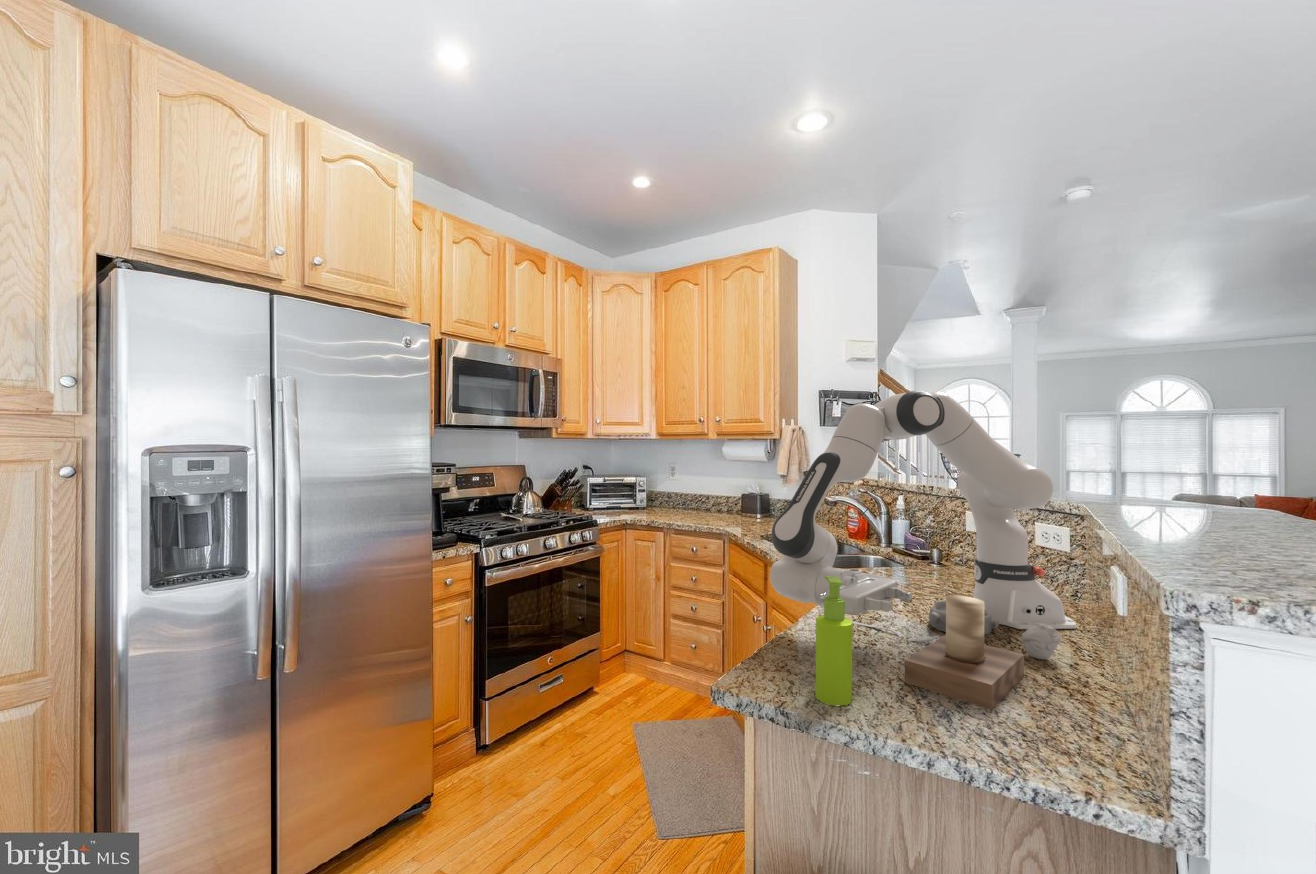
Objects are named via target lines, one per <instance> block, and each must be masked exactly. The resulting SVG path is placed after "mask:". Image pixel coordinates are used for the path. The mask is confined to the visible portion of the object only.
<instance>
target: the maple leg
mask: <svg viewBox="0 0 1316 874" xmlns="http://www.w3.org/2000/svg"><path fill="white" fill-rule="evenodd" d="M945 600H946V632H945V635H946V656H947V657H949V658H950V659H952V660H955V661H958V662H963V663H969V664H974V665H978V664H981V663H983V662H984V661H985V657H984V645H985V635H984V601H982V600H980V599H977V598H973V597H972V596H966V595H948V596H946V598H945Z"/></svg>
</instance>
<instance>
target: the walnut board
mask: <svg viewBox="0 0 1316 874" xmlns="http://www.w3.org/2000/svg"><path fill="white" fill-rule="evenodd" d="M984 657H985V661H984V662H983V663H981V664H978V665H974V664H969V663H963V662H958V661H955V660H952V659H950V658H949V657H947V656H946V634H944V635H943V636H941V637H939V638H937V639H935V640H933V642H932V643H930V644H928V645H926V646H924V647H923V648H922V649H920V650H919V651H916V652H915V653H913V654H912V655H911V656H909V657H907V658H905V659H904V683H906V684H909V685H912V686H915V687H917V688H918V687H919V688H922V689H924V690H928V691H931V692H934V693H938V694H941V695H944V696H948V697H951V698H954V699H957V700H961V701H962V702H965V703H969V704H973V705H976V706H979V707H981V708H982V707H983V708H985V709H988V710H993V709H994V708H995V707H996V705H998V704H999V703H1000V701H1001V700H1003V698H1005V697H1006V696H1007V695H1008V693H1009V692H1010V691H1011V690H1012V689H1013V688H1014V687H1015V686H1016V685H1017V684H1018V683H1019V682H1020V681H1021V680H1022V679H1023V678H1024V677H1025V654H1024V653H1020V652H1016V651H1011V650H1007V649H1003V648H999V647H996V646H990V645H987V644H984Z"/></svg>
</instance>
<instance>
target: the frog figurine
mask: <svg viewBox="0 0 1316 874" xmlns="http://www.w3.org/2000/svg"><path fill="white" fill-rule="evenodd" d="M1021 643H1022V644H1023V645H1024V648H1025V651H1026V652H1027V654H1028V655H1030V656H1031V657H1033V658H1034V659H1036V660H1037V659H1038V660H1047V659H1049V658H1051V657H1052V656H1053V655H1054V654H1055V649H1057V648H1058V645H1059V644H1060V643H1061V634H1060V633H1059V631H1057V629H1054V628H1052V627H1051V626H1049V625H1046V624H1042V623H1039V624H1037V625H1036V626H1034V627H1031V628H1029V629H1025V631H1024V632H1023V633H1022V636H1021Z"/></svg>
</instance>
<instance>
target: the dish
mask: <svg viewBox="0 0 1316 874" xmlns="http://www.w3.org/2000/svg"><path fill="white" fill-rule="evenodd" d="M928 620H929V623H930V625H931V627H932V628H934V629H935V630H938V631H941V632H945V633H946V599H945V600H936V601H935V602H934V605H933V607H931V608H930V610H929V612H928ZM999 625H1000V624H999V621H998V619H993V618H992V615H991V613H989V612H988V610H987V609H985V608H984V636H985V635H989V634H990V633H991V631H992V629H997V628H998V627H999Z"/></svg>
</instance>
